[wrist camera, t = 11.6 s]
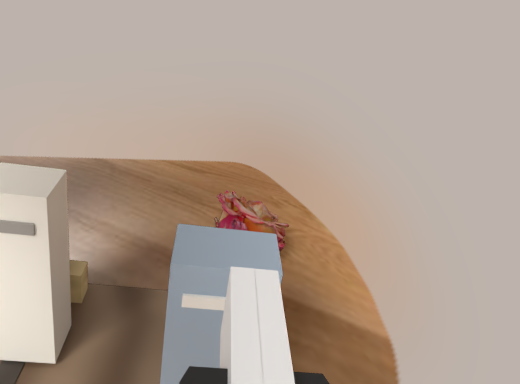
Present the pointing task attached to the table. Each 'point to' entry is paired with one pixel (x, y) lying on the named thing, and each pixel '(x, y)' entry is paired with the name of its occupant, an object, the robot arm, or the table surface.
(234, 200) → the flower
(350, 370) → the table surface
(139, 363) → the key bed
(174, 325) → the light blue tall block
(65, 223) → the key cream
